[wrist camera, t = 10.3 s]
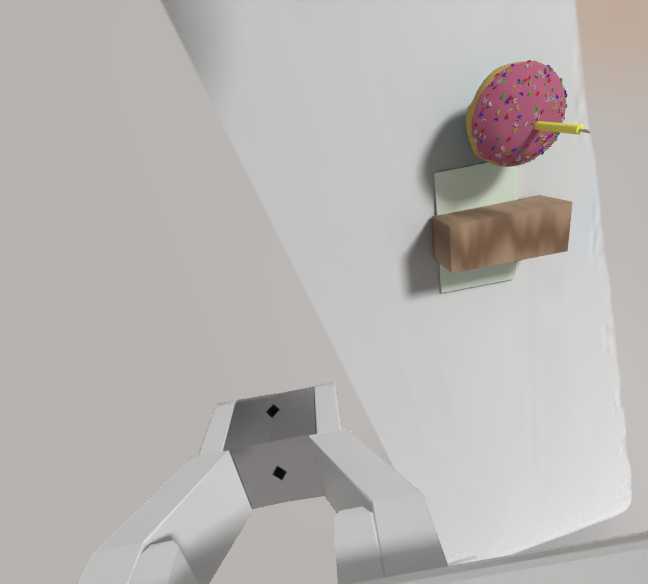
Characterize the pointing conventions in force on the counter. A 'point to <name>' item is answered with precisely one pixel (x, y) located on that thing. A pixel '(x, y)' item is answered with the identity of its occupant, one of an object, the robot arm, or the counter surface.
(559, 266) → the counter surface
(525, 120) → the cupcake
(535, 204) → the block
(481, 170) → the mat
